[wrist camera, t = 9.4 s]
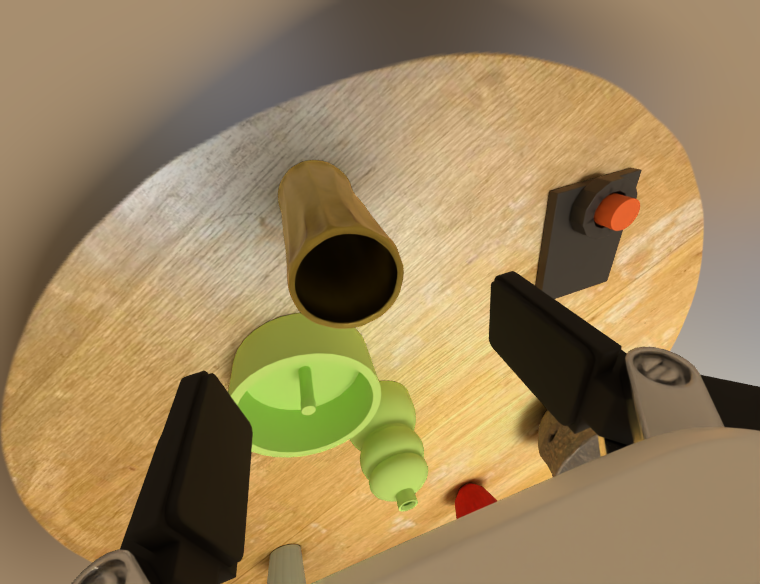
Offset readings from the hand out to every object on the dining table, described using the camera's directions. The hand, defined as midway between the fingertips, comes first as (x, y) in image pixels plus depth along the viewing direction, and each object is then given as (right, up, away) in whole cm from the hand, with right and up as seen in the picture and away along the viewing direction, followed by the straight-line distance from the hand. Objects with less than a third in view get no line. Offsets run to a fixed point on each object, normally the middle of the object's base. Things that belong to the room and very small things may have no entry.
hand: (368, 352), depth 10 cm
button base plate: (+24, +8, +25) cm, 36 cm away
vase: (-5, +10, +15) cm, 19 cm away
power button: (+24, +10, +21) cm, 33 cm away
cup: (-17, -46, +47) cm, 68 cm away
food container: (-5, -9, +27) cm, 29 cm away
